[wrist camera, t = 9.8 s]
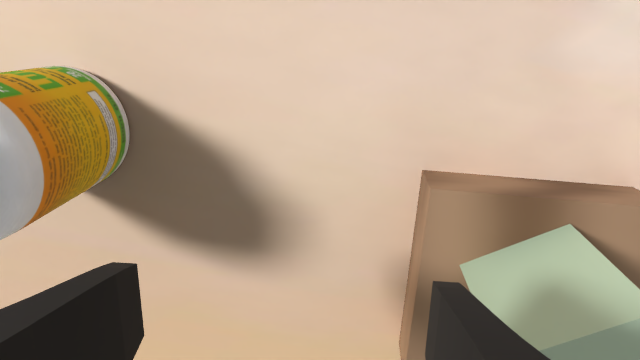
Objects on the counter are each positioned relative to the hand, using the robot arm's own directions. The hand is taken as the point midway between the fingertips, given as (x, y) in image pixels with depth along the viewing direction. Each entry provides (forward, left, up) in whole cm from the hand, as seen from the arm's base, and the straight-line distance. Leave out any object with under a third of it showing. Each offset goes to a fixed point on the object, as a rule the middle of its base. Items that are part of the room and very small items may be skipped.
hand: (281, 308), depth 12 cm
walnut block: (-9, +4, -11) cm, 15 cm away
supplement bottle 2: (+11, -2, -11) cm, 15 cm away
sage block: (-9, +4, -8) cm, 13 cm away
